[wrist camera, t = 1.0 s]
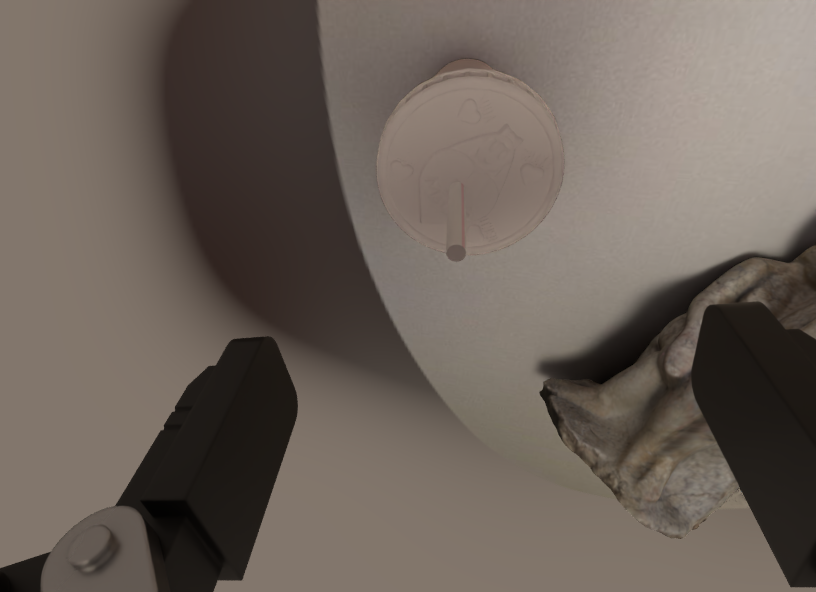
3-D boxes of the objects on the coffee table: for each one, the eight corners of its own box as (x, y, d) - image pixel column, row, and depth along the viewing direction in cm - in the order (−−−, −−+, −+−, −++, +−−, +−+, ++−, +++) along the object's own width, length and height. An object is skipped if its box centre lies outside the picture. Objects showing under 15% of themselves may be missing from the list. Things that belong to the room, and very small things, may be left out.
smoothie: (374, 102, 25) (305, 241, 14) (466, -8, 22) (473, 53, 11) (465, 186, 27) (469, 364, 16) (560, 95, 24) (648, 237, 13)
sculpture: (729, 151, 30) (902, 269, 29) (539, 362, 37) (674, 463, 36) (809, 151, 20) (1080, 331, 19) (528, 442, 27) (715, 585, 26)
